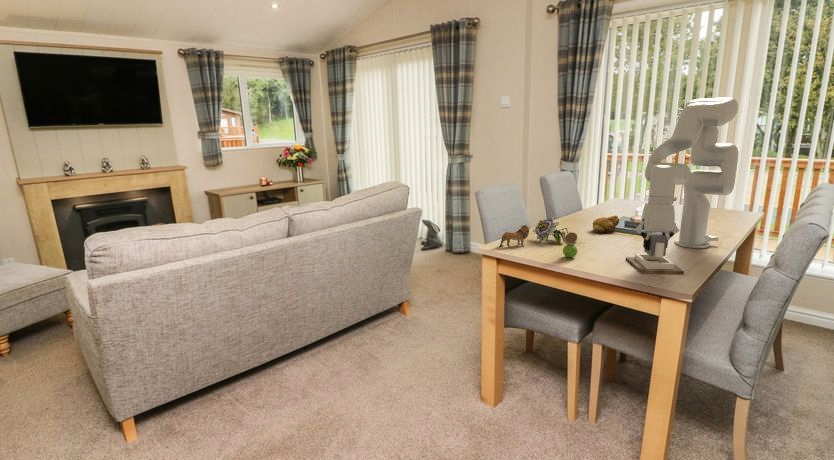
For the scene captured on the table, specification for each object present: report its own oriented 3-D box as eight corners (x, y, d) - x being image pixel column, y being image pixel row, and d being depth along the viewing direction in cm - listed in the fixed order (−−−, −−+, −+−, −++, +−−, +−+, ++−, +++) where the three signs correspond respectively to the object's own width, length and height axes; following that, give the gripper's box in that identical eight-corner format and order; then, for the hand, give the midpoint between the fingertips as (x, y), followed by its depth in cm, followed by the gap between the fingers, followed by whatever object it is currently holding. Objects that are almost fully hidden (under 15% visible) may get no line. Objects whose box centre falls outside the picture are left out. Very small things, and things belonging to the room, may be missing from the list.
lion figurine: (524, 242, 197) (525, 223, 195) (531, 245, 192) (532, 225, 190) (496, 246, 192) (496, 226, 190) (502, 249, 187) (502, 229, 185)
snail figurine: (557, 256, 176) (559, 227, 174) (573, 255, 177) (575, 226, 174) (563, 260, 171) (565, 230, 168) (579, 259, 172) (581, 229, 169)
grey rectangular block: (658, 251, 162) (660, 233, 161) (666, 257, 155) (668, 238, 154) (644, 251, 163) (645, 233, 161) (651, 256, 156) (653, 237, 154)
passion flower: (540, 255, 199) (525, 229, 201) (558, 245, 204) (543, 220, 207) (557, 245, 188) (541, 218, 190) (576, 235, 193) (560, 209, 196)
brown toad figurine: (600, 235, 206) (601, 218, 205) (585, 230, 215) (586, 214, 213) (620, 231, 211) (621, 215, 209) (604, 227, 220) (606, 212, 218)
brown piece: (664, 259, 168) (664, 252, 167) (683, 273, 153) (684, 265, 152) (625, 259, 170) (626, 252, 169) (641, 273, 154) (642, 265, 154)
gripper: (680, 198, 158) (674, 247, 162) (631, 198, 160) (626, 246, 164) (691, 202, 151) (684, 253, 155) (638, 202, 153) (634, 252, 157)
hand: (654, 249), depth 159 cm, fingers closed on grey rectangular block, 5 cm apart
